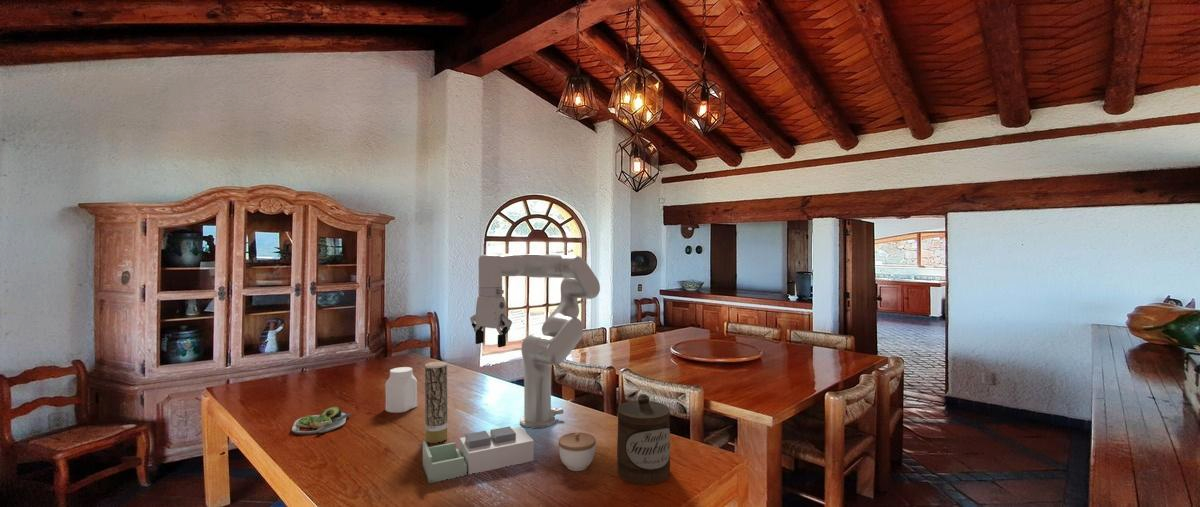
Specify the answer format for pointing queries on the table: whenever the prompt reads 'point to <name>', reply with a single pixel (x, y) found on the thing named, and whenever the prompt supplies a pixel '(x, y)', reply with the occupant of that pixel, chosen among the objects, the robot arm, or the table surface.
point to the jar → (401, 390)
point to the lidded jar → (577, 450)
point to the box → (443, 462)
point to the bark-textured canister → (436, 401)
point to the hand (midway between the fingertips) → (490, 344)
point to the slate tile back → (502, 434)
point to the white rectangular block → (498, 453)
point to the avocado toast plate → (321, 421)
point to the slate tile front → (477, 439)
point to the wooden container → (643, 441)
